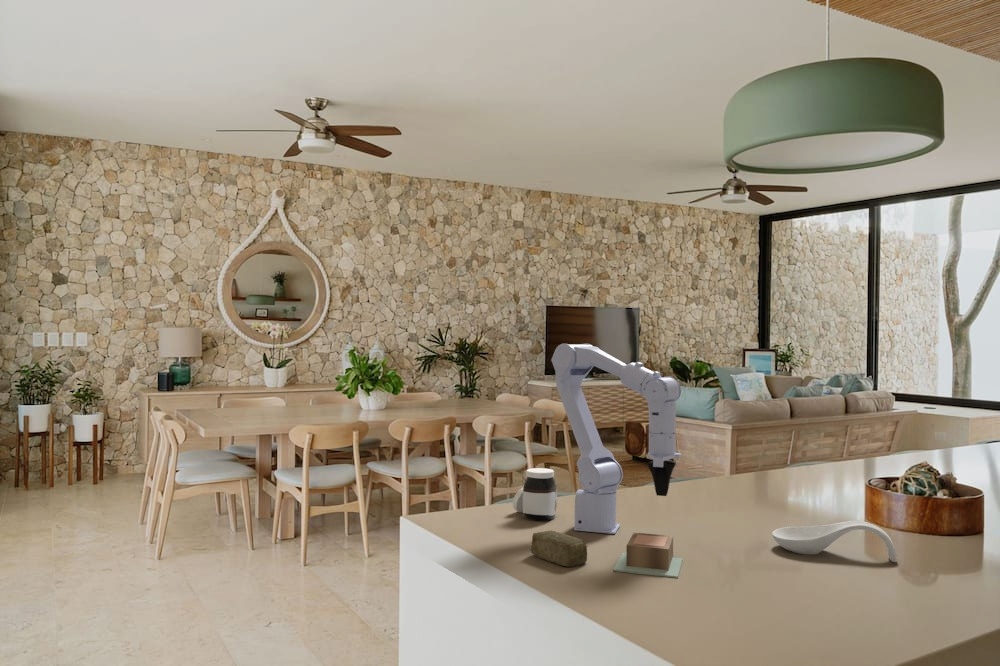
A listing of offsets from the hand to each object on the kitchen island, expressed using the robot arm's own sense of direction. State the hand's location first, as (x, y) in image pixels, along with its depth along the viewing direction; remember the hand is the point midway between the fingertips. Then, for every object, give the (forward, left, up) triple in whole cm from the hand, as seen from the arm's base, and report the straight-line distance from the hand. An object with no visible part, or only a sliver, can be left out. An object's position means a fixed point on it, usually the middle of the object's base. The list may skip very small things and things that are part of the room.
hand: (661, 495), depth 161 cm
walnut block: (-1, -10, -8) cm, 13 cm away
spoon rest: (+34, +5, -11) cm, 37 cm away
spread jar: (-33, +14, -11) cm, 37 cm away
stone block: (-18, -19, -11) cm, 29 cm away
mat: (-1, -17, -10) cm, 20 cm away
